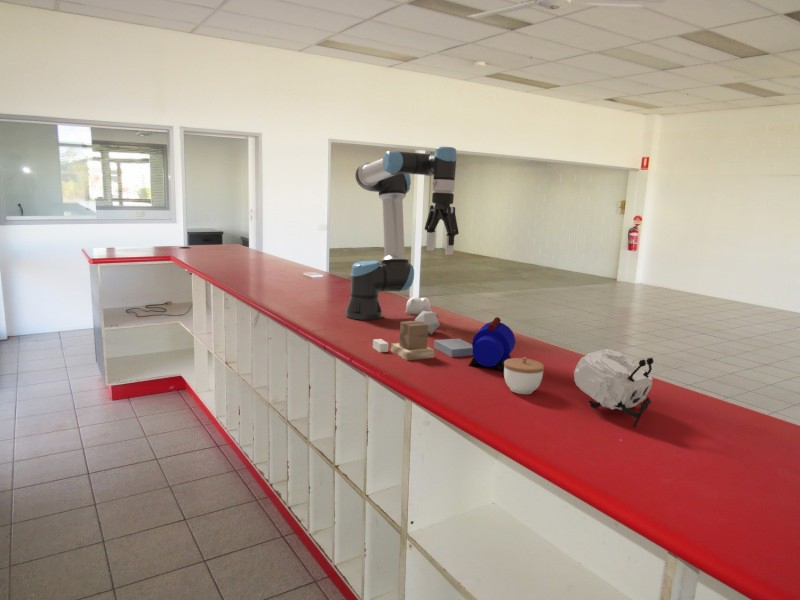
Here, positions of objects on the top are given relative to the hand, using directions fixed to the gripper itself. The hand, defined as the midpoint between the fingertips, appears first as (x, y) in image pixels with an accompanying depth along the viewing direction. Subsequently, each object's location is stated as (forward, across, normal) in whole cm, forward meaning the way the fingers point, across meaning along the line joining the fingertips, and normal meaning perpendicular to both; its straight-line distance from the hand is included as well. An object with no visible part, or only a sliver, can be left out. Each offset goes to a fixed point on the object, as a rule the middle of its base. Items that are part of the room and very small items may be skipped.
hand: (439, 252), depth 202 cm
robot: (+32, +79, +10) cm, 86 cm away
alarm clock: (+32, +36, 0) cm, 48 cm away
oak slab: (+32, +17, -18) cm, 40 cm away
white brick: (+32, +9, -26) cm, 42 cm away
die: (+32, -8, +1) cm, 33 cm away
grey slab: (+32, +18, -2) cm, 37 cm away
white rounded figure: (+32, -39, +14) cm, 52 cm away
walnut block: (+29, +17, -18) cm, 38 cm away
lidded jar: (+32, +58, -4) cm, 66 cm away
